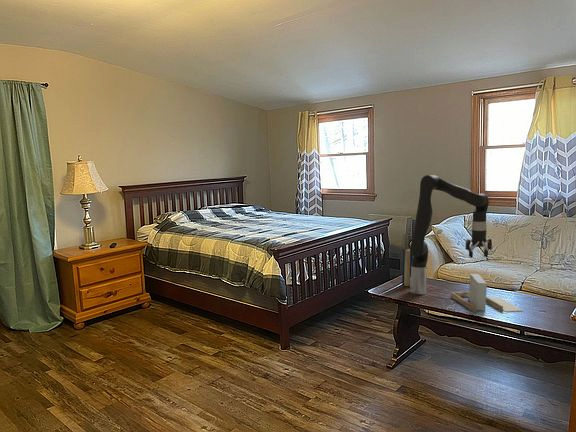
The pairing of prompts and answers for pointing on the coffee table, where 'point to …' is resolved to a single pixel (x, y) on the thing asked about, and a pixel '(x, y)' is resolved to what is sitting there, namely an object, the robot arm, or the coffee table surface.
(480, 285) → the skincare box
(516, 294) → the coffee table surface
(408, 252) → the book
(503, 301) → the beige flat board
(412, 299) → the coffee table surface
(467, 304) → the wooden u-shaped frame
